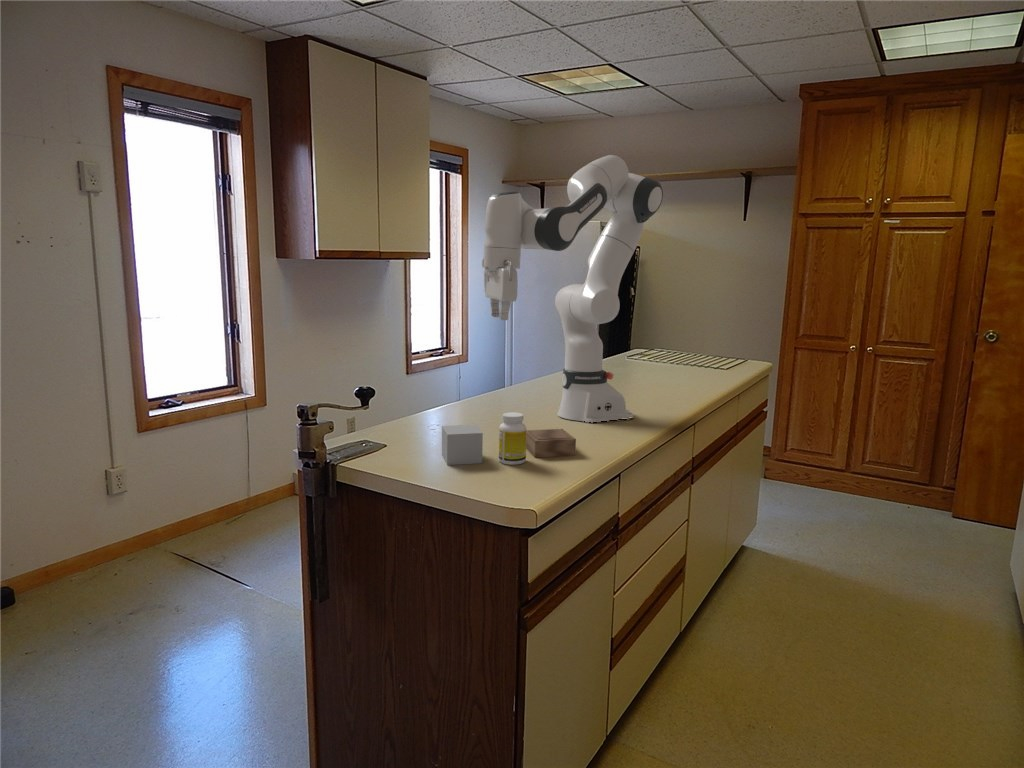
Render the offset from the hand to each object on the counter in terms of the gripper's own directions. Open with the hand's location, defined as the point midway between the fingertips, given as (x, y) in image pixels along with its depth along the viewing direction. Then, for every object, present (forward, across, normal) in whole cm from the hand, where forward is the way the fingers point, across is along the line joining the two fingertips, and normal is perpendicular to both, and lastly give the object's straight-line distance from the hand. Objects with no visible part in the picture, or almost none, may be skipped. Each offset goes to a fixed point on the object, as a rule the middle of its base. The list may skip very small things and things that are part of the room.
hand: (499, 318), depth 161 cm
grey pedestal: (+32, -12, +10) cm, 35 cm away
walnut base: (+31, -9, -12) cm, 34 cm away
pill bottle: (+32, -16, -1) cm, 35 cm away
